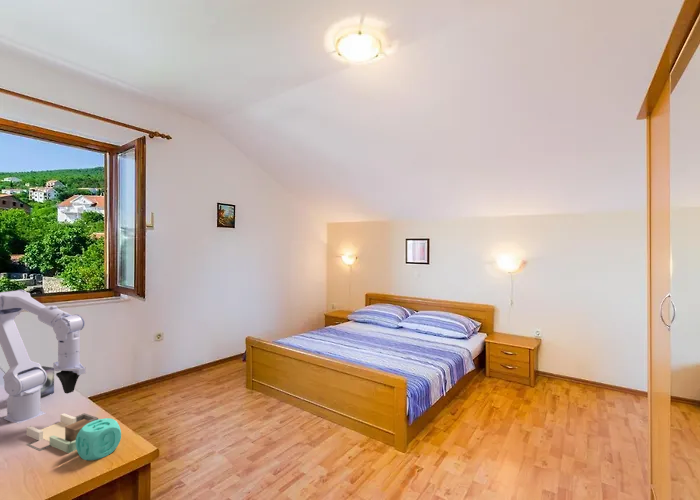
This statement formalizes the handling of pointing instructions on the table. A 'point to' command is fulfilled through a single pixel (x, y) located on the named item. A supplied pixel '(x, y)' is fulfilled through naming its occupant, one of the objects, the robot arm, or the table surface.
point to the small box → (47, 382)
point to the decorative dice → (98, 439)
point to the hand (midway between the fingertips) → (69, 392)
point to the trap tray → (57, 433)
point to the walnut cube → (74, 429)
